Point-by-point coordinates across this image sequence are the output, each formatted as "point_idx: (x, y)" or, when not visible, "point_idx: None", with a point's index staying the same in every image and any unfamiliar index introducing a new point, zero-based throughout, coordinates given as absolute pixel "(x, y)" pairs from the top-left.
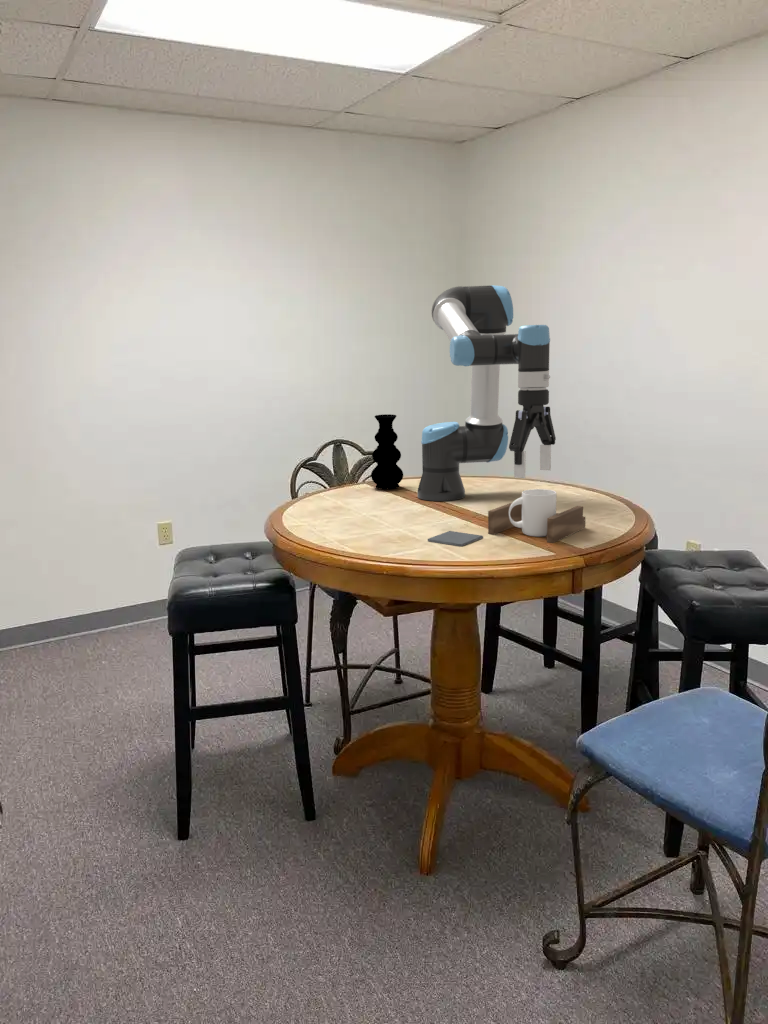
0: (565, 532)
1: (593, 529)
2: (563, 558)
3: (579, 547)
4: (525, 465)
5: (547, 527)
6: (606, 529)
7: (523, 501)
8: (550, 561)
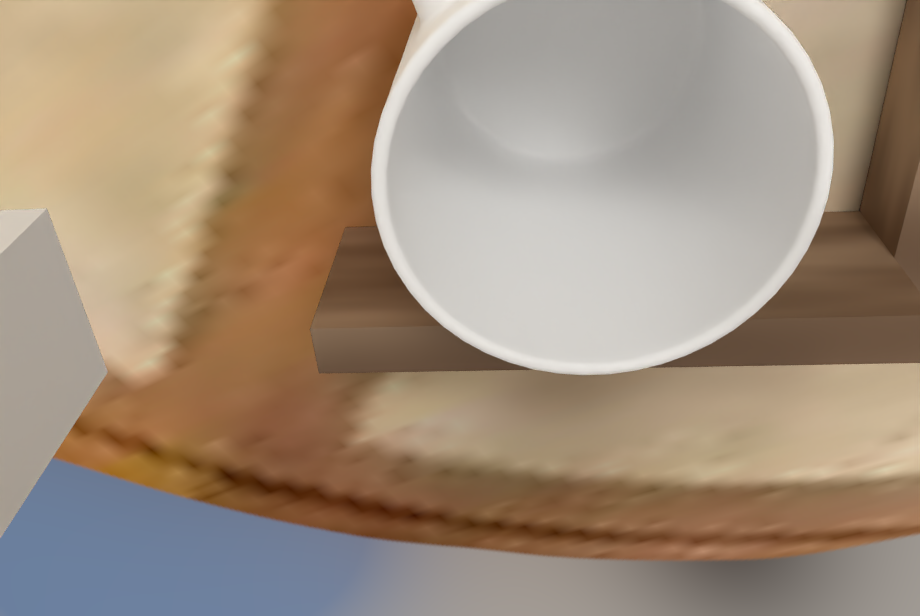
0: None
1: None
2: (116, 441)
3: (367, 418)
4: (5, 529)
5: (325, 288)
6: (902, 375)
7: (413, 37)
8: None
